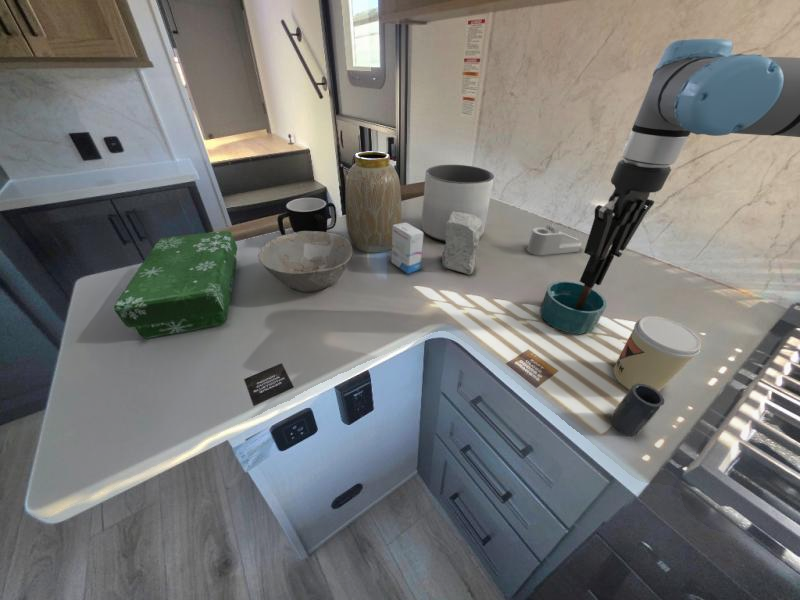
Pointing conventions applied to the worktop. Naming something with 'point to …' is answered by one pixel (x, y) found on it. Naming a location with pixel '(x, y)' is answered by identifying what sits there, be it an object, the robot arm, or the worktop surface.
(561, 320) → the teal bowl
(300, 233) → the ceramic bowl
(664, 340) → the coffee cup
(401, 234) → the ink box
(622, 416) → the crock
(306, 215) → the mug
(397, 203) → the vase
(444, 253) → the decorative stone
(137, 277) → the box
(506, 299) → the worktop surface
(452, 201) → the planter
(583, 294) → the stick
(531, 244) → the grey mounting bracket
